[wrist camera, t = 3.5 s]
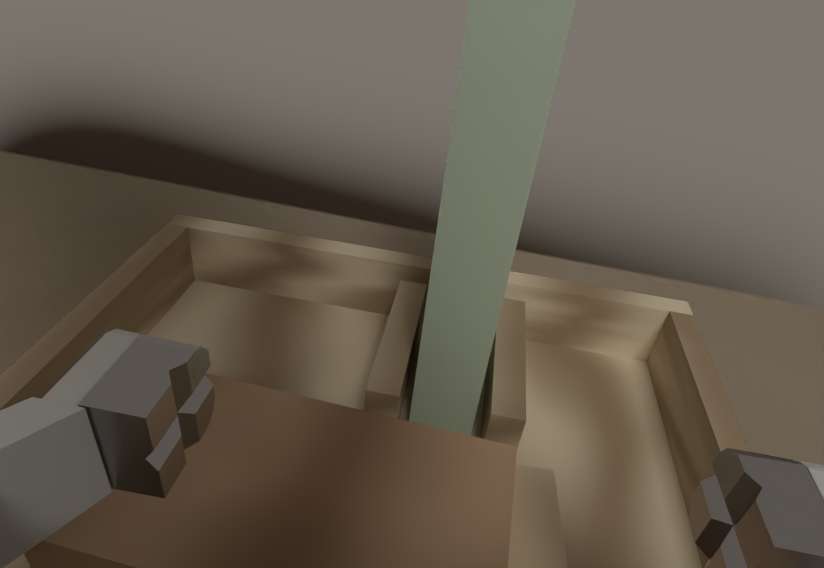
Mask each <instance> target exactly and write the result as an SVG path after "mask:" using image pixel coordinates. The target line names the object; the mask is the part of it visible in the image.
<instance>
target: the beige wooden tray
mask: <svg viewBox="0 0 824 568" xmlns="http://www.w3.org/2000/svg"><path fill="white" fill-rule="evenodd" d="M431 265H432V258H430V257H425V256H419V255H413V254H407V253H402V252H396V251H390V250H384V249H378V248H373V247H367V246H361V245H355V244H349V243H344V242H338V241H332V240H326V239H320V238H315V237H309V236H303V235H297V234H291V233H286V232H280V231H274V230H268V229H262V228H257V227H251V226H245V225H239V224H233V223H228V222H222V221H216V220H210V219H204V218H199V217H193V216H187V215H181V214H177V215H176V216H175V217H174V218H173V219H171V220H170V221H169V222H168V223H167V224H166V225H165V226H164V227H163V228H162V229H160V230H159V231H158V232H157V233H156V234H155V235H154V236H153V237H152V238H150V239H149V240H148V241H147V242H146V243H145V244H144V245H143V246H142V247H141V248H139V249H138V250H137V251H136V252H135V253H134V254H133V255H132V256H131V257H129V258H128V259H127V260H126V261H125V262H124V263H123V264H122V265H121V266H120V267H118V268H117V269H116V270H115V271H114V272H113V273H112V274H111V275H110V276H108V277H107V278H106V279H105V280H104V281H103V282H102V283H101V284H100V285H99V286H97V287H96V288H95V289H94V290H93V291H92V292H91V293H90V294H89V295H87V296H86V297H85V298H84V299H83V300H82V301H81V302H80V303H79V304H78V305H76V306H75V307H74V308H73V309H72V310H71V311H70V312H69V313H68V314H66V315H65V316H64V317H63V318H62V319H61V320H60V321H59V322H58V323H57V324H55V325H54V326H53V327H52V328H51V329H50V330H49V331H48V332H47V333H45V334H44V335H43V336H42V337H41V338H40V339H39V340H38V341H37V342H36V343H34V344H33V345H32V346H31V347H30V348H29V349H28V350H27V351H26V352H25V353H23V354H22V355H21V356H20V357H19V358H18V359H17V360H16V361H15V362H13V363H12V364H11V365H10V366H9V367H8V368H7V369H6V370H5V371H4V372H2V373H1V374H0V411H1V410H3V409H5V408H8V407H10V406H12V405H15V404H17V403H19V402H22V401H24V400H26V399H29V398H31V397H35V398H41V399H42V398H43V397H44V396H45V395H46V394H47V393H48V392H49V391H50V390H51V389H52V388H53V387H54V385H55V384H56V383H57V382H58V381H59V380H60V379H61V378H62V377H63V376H64V375H65V374H66V373H67V372H68V371H69V370H70V369H71V368H72V367H73V366H74V365H75V364H76V363H77V362H78V361H79V360H80V359H81V358H82V357H83V356H84V355H85V354H86V353H87V352H88V351H89V350H90V349H91V348H92V347H93V346H94V345H95V344H96V343H97V341H98V340H99V339H100V338H101V337H102V336H103V335H104V334H105V333H107V332H109V331H112V330H114V329H120V330H125V331H129V332H134V333H138V334H143V335H145V334H146V335H150V336H155V337H160V338H164V339H169V340H173V341H178V342H182V343H187V344H191V345H196V346H201V347H203V348H205V349H207V350H208V352H209V357H210V362H211V366H210V368H209V369H208V371H207V372H206V373H207V374H211V375H216V376H220V377H224V378H228V379H232V380H237V381H241V382H245V383H249V384H254V385H258V386H262V387H266V388H270V389H275V390H279V391H283V392H287V393H292V394H296V395H300V396H304V397H308V398H313V399H317V400H321V401H325V402H330V403H334V404H338V405H342V406H346V407H351V408H355V409H359V410H363V411H368V412H372V413H376V414H380V415H385V416H389V417H393V418H397V419H401V420H406V421H409V417H410V410H411V403H412V396H413V389H414V382H415V376H416V369H417V362H418V355H419V348H420V341H421V334H422V327H423V320H424V314H425V307H426V300H427V293H428V286H429V279H430V272H431ZM471 436H473V437H477V438H482V439H486V440H490V441H494V442H499V443H503V444H507V445H511V446H515V447H517V452H516V465H522V466H530V467H537V468H544V469H551V470H554V474H555V481H556V488H557V495H558V502H559V509H560V517H561V524H562V531H563V538H564V545H565V552H566V559H567V567H568V568H704V567H705V566H706V564H707V562H708V560H709V558H708V557H707V556H706V555H705V554H704V553H703V552H702V550H701V549H700V548H699V547H698V546H697V545H696V544H695V542H694V538H693V534H692V530H691V523H690V508H691V502H692V496H693V494H694V492H695V490H696V489H697V487H698V485H699V483H700V482H701V481H703V480H705V479H707V478H710V477H712V476H714V475H716V473H715V470H714V467H713V464H712V463H713V461H714V460H715V458H716V457H717V455H718V454H719V452H721V451H723V450H725V449H726V448H731V449H737V450H742V451H748V452H750V451H749V448H748V446H747V443H746V441H745V439H744V436H743V434H742V431H741V429H740V427H739V424H738V422H737V419H736V417H735V415H734V412H733V410H732V407H731V405H730V403H729V400H728V398H727V395H726V393H725V391H724V388H723V386H722V383H721V381H720V379H719V376H718V374H717V371H716V369H715V366H714V364H713V362H712V359H711V357H710V354H709V352H708V350H707V347H706V345H705V342H704V340H703V338H702V335H701V333H700V330H699V328H698V326H697V323H696V321H695V318H694V316H693V314H692V311H691V309H690V306H689V304H688V302H685V301H680V300H674V299H668V298H662V297H656V296H651V295H645V294H639V293H633V292H627V291H622V290H616V289H610V288H604V287H599V286H593V285H587V284H581V283H575V282H570V281H564V280H558V279H552V278H546V277H541V276H535V275H529V274H523V273H517V272H512V271H510V274H509V279H508V283H507V287H506V291H505V295H504V299H503V303H502V308H501V312H500V316H499V320H498V324H497V328H496V332H495V337H494V341H493V345H492V349H491V353H490V357H489V361H488V366H487V370H486V374H485V378H484V382H483V386H482V390H481V394H480V399H479V403H478V407H477V411H476V415H475V419H474V423H473V428H472V432H471ZM29 567H30V565H29V563H28V561H27V559H26V557H25V555H24V554H22V555H21V556H20V557H18V558H17V559H15V560H14V561H12V562H11V563H10V564H8V565H7V566H5V567H4V568H29Z"/></svg>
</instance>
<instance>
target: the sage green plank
mask: <svg viewBox="0 0 824 568" xmlns="http://www.w3.org/2000/svg"><path fill="white" fill-rule="evenodd" d="M575 1H576V0H470V4H469V11H468V17H467V25H466V31H465V38H464V45H463V52H462V59H461V66H460V72H459V79H458V86H457V94H456V101H455V108H454V114H453V121H452V128H451V135H450V141H449V148H448V155H447V163H446V169H445V176H444V183H443V190H442V196H441V204H440V210H439V217H438V225H437V231H436V238H435V245H434V252H433V258H432V265H431V272H430V279H429V286H428V293H427V300H426V307H425V314H424V320H423V327H422V334H421V341H420V348H419V355H418V362H417V369H416V376H415V382H414V389H413V396H412V403H411V410H410V417H409V421H410V422H414V423H418V424H423V425H427V426H431V427H435V428H439V429H444V430H448V431H452V432H456V433H461V434H465V435H469V436H471V432H472V428H473V423H474V419H475V415H476V411H477V407H478V403H479V399H480V394H481V390H482V386H483V382H484V378H485V374H486V370H487V366H488V361H489V357H490V353H491V349H492V345H493V341H494V337H495V332H496V328H497V324H498V320H499V316H500V312H501V308H502V303H503V299H504V295H505V291H506V287H507V283H508V279H509V274H510V270H511V266H512V262H513V258H514V254H515V250H516V245H517V241H518V237H519V233H520V229H521V225H522V220H523V217H524V212H525V208H526V204H527V200H528V196H529V192H530V187H531V183H532V179H533V175H534V171H535V167H536V163H537V159H538V154H539V150H540V146H541V142H542V138H543V134H544V130H545V125H546V121H547V117H548V113H549V109H550V105H551V101H552V96H553V92H554V88H555V84H556V80H557V76H558V72H559V68H560V63H561V59H562V55H563V51H564V47H565V43H566V38H567V34H568V30H569V26H570V22H571V17H572V14H573V10H574V5H575Z"/></svg>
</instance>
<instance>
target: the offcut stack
mask: <svg viewBox="0 0 824 568" xmlns="http://www.w3.org/2000/svg"><path fill="white" fill-rule="evenodd" d="M205 376H206V377H207V378H208V379H209V380H210V382H211V383H212V384H213V385H214V392H215V401H214V410H213V413H212V416H211V419H210V422H209V425H208V427H207V429H206V431H205V433H204V434H203V436H202V438H201V440H200V441H199V442H197V443H195V444H193V445H192V446H190V447H188V448H187V449H185V450H184V453H185V458H186V465H185V466H184V468H183V470H182V471H181V473H180V475H179V476H178V478H177V480H176V481H175V483H174V484H173V486H172V488H171V489H170V491H169V493H168V494H167V496H166V498H160V497H155V496H149V495H144V494H138V493H133V492H127V491H122V490H117V489H112V492H111V493H110V494H108V495H107V496H106V497H104V498H103V499H101V500H100V501H98V502H97V503H96V504H94V505H93V506H91V507H90V508H88V509H87V510H86V511H84V512H83V513H81V514H80V515H78V516H77V517H75V518H74V519H73V520H71V521H70V522H68V523H67V524H65V525H64V526H63V527H61V528H60V529H58V530H57V531H55V532H54V533H53V534H51V535H50V536H48V537H47V538H45V539H44V540H43V541H41V542H40V543H38V544H37V545H35V546H34V547H32V548H31V549H30V550H28V551H27V552H25V553H24V555H25V557H26V559H27V561H28V563H29V565H30V567H29V568H568V567H567V559H566V552H565V545H564V538H563V531H562V524H561V517H560V509H559V502H558V495H557V488H556V481H555V474H554V470H551V469H544V468H537V467H530V466H522V465H516V452H517V447H515V446H511V445H507V444H503V443H499V442H494V441H490V440H486V439H482V438H477V437H473V436H469V435H465V434H461V433H456V432H452V431H448V430H444V429H439V428H435V427H431V426H427V425H423V424H418V423H414V422H410V421H406V420H401V419H397V418H393V417H389V416H385V415H380V414H376V413H372V412H368V411H363V410H359V409H355V408H351V407H346V406H342V405H338V404H334V403H330V402H325V401H321V400H317V399H313V398H308V397H304V396H300V395H296V394H292V393H287V392H283V391H279V390H275V389H270V388H266V387H262V386H258V385H254V384H249V383H245V382H241V381H237V380H232V379H228V378H224V377H220V376H216V375H211V374H207V373H206V374H205Z"/></svg>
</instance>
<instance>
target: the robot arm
mask: <svg viewBox="0 0 824 568" xmlns="http://www.w3.org/2000/svg"><path fill="white" fill-rule="evenodd" d="M210 366H211V362H210V357H209V352H208V350H207V349H205V348H203V347H201V346H196V345H191V344H187V343H182V342H178V341H173V340H169V339H164V338H160V337H155V336H150V335H146V334H145V335H143V334H138V333H134V332H129V331H125V330H120V329H114V330H112V331H109V332H107V333H105V334H104V335H103V336H102V337H101V338H100V339H99V340H98V341H97V343H96V344H95V345H94V346H93V347H92V348H91V349H90V350H89V351H88V352H87V353H86V354H85V355H84V356H83V357H82V358H81V359H80V360H79V361H78V362H77V363H76V364H75V365H74V366H73V367H72V368H71V369H70V370H69V371H68V372H67V373H66V374H65V375H64V376H63V377H62V378H61V379H60V380H59V381H58V382H57V383H56V384H55V385H54V387H53V388H52V389H51V390H50V391H49V392H48V393H47V394H46V395H45V396H44V397H43V398H42V399H41V398H35V397H31V398H29V399H26V400H24V401H22V402H19V403H17V404H15V405H12V406H10V407H8V408H5V409H3V410H1V411H0V568H4V567H5V566H7V565H8V564H10V563H11V562H12V561H14V560H15V559H17V558H18V557H20V556H21V555H22V554H24V553H25V552H27V551H28V550H30V549H31V548H32V547H34V546H35V545H37V544H38V543H40V542H41V541H43V540H44V539H45V538H47V537H48V536H50V535H51V534H53V533H54V532H55V531H57V530H58V529H60V528H61V527H63V526H64V525H65V524H67V523H68V522H70V521H71V520H73V519H74V518H75V517H77V516H78V515H80V514H81V513H83V512H84V511H86V510H87V509H88V508H90V507H91V506H93V505H94V504H96V503H97V502H98V501H100V500H101V499H103V498H104V497H106V496H107V495H108V494H110V493H111V492H112V489H117V490H122V491H127V492H133V493H138V494H144V495H149V496H155V497H160V498H166V496H167V494H168V493H169V491H170V489H171V488H172V486H173V484H174V483H175V481H176V480H177V478H178V476H179V475H180V473H181V471H182V470H183V468H184V466H185V465H186V458H185V453H184V450H185V449H187V448H188V447H190V446H192V445H193V444H195V443H197V442H199V441H200V440H201V438H202V436H203V434H204V433H205V431H206V429H207V427H208V425H209V422H210V419H211V416H212V413H213V410H214V401H215V392H214V385H213V384H212V383H211V382H210V380H209V379H208V378H207V377H206V376H205V374H206V372H207V371H208V369H209V368H210ZM712 464H713V467H714V470H715V473H716V475H714V476H712V477H710V478H707V479H705V480H703V481H701V482H700V483H699V485H698V487H697V489H696V490H695V492H694V494H693V496H692V502H691V508H690V523H691V530H692V534H693V538H694V542H695V544H696V545H697V546H698V547H699V548H700V549H701V550H702V552H703V553H704V554H705V555H706V556H707V557H708V558H709V560H708V562H707V564H706V566H705V567H704V568H824V465H819V464H813V463H808V462H802V461H794V460H791V459H786V458H780V457H775V456H770V455H764V454H759V453H753V452H748V451H742V450H737V449H731V448H726V449H725V450H723V451H721V452H719V454H718V455H717V457H716V458H715V460H714V461H713V463H712Z"/></svg>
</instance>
